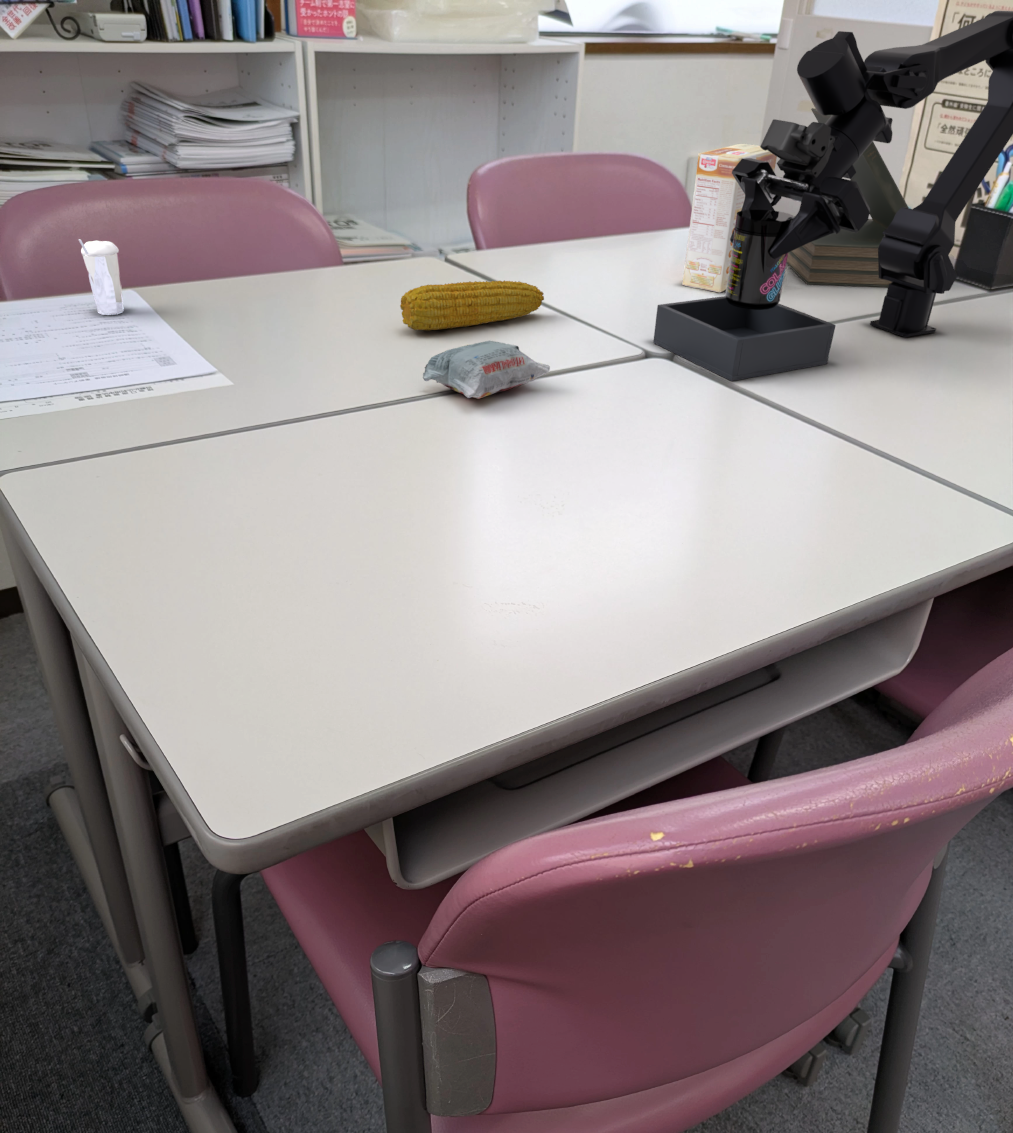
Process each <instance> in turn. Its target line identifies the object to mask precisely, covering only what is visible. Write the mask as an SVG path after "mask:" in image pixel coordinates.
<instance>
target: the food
mask: <svg viewBox="0 0 1013 1133" xmlns="http://www.w3.org/2000/svg"><path fill="white" fill-rule="evenodd" d="M544 295H545V294H544V292H543V291H541V290H540V289H539V287H537V285H533V284H530V283H528V282H523V281H516V280H515V281H513V280H492V281H487V280H484V281H476V280H475V281H460V282H456V283H455V282H450V283H444V284H425V285H420V286H418V287H414V288H412V289H409V290H408V291H407V292H405V293H404V294H403V295H402V296H401V298H400V305H399V306H400V310H401V317H402V323H403V324H404V325H407V327H408V328H409V329H411V330H415V331H417V330H419V331H432V330H434V331H437V330H447V329H455V328H456V329H457V328H462V327H464V328H466V327H471V326H478V325H482V324H487V323H488V324H490V323H497V322H501V321H506V320H513V319H515V318H516V319H517V318H522V317H524V316H528V315H529V314H530V313H532V312H535V311H537V310H539V308H541V306H542V304H543V301H545V296H544Z"/></svg>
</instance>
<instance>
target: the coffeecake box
mask: <svg viewBox="0 0 1013 1133" xmlns="http://www.w3.org/2000/svg"><path fill="white" fill-rule="evenodd" d="M760 146H761V145H758V144H757V145H756V144H752V143H751V144H750V143H737V144H732V145H729V146H724V147H720V148H715V149H711V150H707V151H702V152H698V153H697V163H696V164H697V165H696V172H695V181H694V188H693V196H692V205H691V212H690V221H689V229H688V238H687V245H686V253H685V260H684V269H683V277H682V283H681V284H682V286H685V287H689V288H694V289H699V290H700V289H701V290H706V291H710V292H711V291H712V292H715V293H723V292H725V291H726V287H727V280H728V273H729V266H730V259H731V252H732V245H733V244H732V243H731V241H730V238H731V236H732V233H733V230H734V227H735V222H736V215H737V212H739V211H741V210H742V207H743V203H744V200H745V194H744V192H743V190H742V189H741V187H740V186H739V184H738V182H737V181H736V179H735V178H734V176H733V174H732V170H733V169H734V168H735V167H736V165H737V164H738V163H739V162H740V161H741V159H744V158H752V159H756V160H761V161H765V162H769V164H770V166H771V168H772V169H773V171H774V172H775V170H776V165H777V158H778V157H777V156H775V155H774V154H772V153H771V152H769V151H768V150H766V151H765V150H763V149H762V148H761V147H760Z"/></svg>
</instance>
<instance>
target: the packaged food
mask: <svg viewBox="0 0 1013 1133" xmlns="http://www.w3.org/2000/svg"><path fill="white" fill-rule="evenodd" d="M550 370H551V366H550V365H549V364H546V363H541V362H537V361H535V360H534V359H532V358H531V357H529V356H528V355H527V354H526V353H524V352H522V351H521V350H520V347H519V345H515V344H510V343H505V342H500V341H495V340H485V341H480V342H475V343H472V344H467V345H463V346H462V345H461V346H458V347H455V348H454V347H453V348H450V349H447V350H445V351H443V352H440V353H437V354H435V355H433V356H432V357H431V358H429V360H428V362H427V364H426V365H425V366H424V372H422V379H423V381H425V382H429V381H430V380H433V381H435V382H436V383H437V384H441V385H442V386H444V387H446V388H448V389H450V390H453V391H454V392H457V393H459V394H462V395H464V396H465V397H466V398H467V399H470V398H474V399H482V398H485V397H488V396H491V395H493V394H497V393H501V392H505V391H508V390H511V389H513V388H517V387H519V386H522V385H525V384H528V383H531V382H533V381H535V380H536V379H537V378H539V377H542V376H543V375H546V374H548V373H549V372H550Z"/></svg>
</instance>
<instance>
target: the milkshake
mask: <svg viewBox="0 0 1013 1133" xmlns="http://www.w3.org/2000/svg"><path fill="white" fill-rule="evenodd" d="M77 240H78V242H79V244H80V246H81V249H80V253H81V258H82V260H83V263H84V267H85V269H86V273H87V277H88V281H89V285H90V288H91V292H92V295H93V299H94V303H95V307H96V311H97V313H98V314H100V315H102V316H114V315H119V314H122V313H124V309H125V308H124V299H123V288H122V279H121V278H122V277H121V266H120V265H121V264H120V250H119V247H118V246H117V245H116V244H115V243H114V242H112V241H109V240H102V241H101V240H97V239H96V240H93V241H91V240H89V241H86V242H85V243H84V242H83V240H82V239H80V238H78V239H77Z"/></svg>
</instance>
